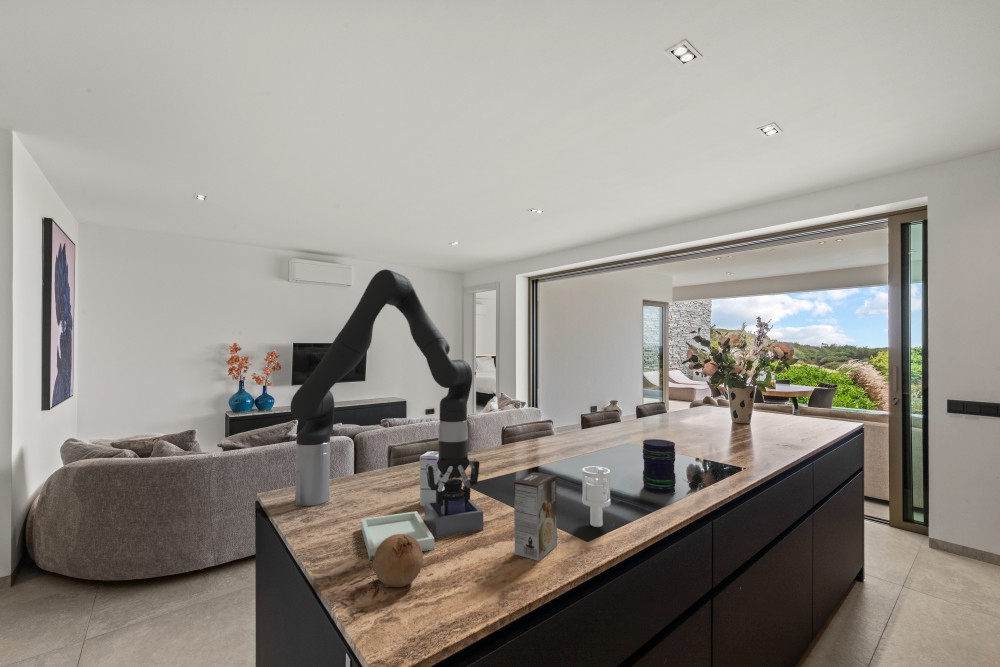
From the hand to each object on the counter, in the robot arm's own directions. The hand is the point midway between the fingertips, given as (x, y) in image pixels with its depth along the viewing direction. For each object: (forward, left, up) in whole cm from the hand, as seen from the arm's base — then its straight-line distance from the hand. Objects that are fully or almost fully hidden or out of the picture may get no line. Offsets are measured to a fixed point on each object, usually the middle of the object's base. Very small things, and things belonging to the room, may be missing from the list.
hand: (452, 503), depth 116 cm
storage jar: (+69, +2, -6) cm, 69 cm away
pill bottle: (0, 0, -6) cm, 6 cm away
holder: (0, 0, -5) cm, 5 cm away
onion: (-18, -23, -6) cm, 30 cm away
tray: (-15, -3, -5) cm, 16 cm away
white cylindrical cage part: (+34, -14, -6) cm, 37 cm away
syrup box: (-1, +17, -6) cm, 18 cm away
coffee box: (+13, -21, -6) cm, 25 cm away
